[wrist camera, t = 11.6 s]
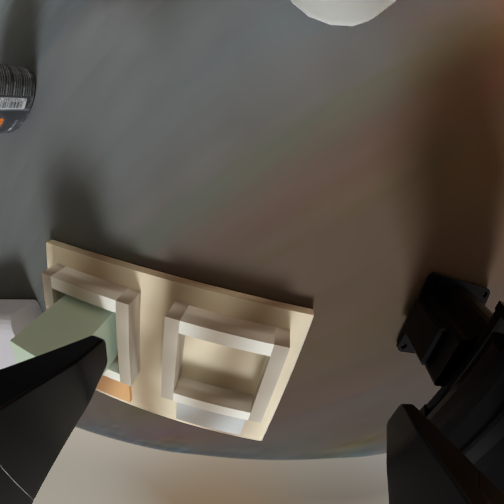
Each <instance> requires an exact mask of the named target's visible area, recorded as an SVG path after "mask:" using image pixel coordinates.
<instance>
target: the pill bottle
mask: <svg viewBox="0 0 504 504" xmlns="http://www.w3.org/2000/svg"><path fill="white" fill-rule="evenodd" d="M34 90H35V84H34V78H33V75H32V73H31V72H30V70H28V69H27V68H24V67H19V66H13V65H6V64H0V133H8V132H12V131H14V130H16V129H17V128H19V127H20V125H21V124H22V123H23V122H24V120H25V119H26V117H27V115H28V113H29V111H30V109H31V106H32V102H33V98H34Z"/></svg>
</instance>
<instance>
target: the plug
mask: <svg viewBox="0 0 504 504" xmlns="http://www.w3.org/2000/svg"><path fill="white" fill-rule="evenodd" d="M92 335H94V336H97V337H99V338H102V339H104V340H105V342H106V349H107V358H108V362H107V366H106V368H105V370H104V372H103V374H104V373H105V372H106V370H107V369H108V367H109V366H110V365H111V363H112V362H113V361H114V359H115V358H116V357H117V355H118V349H117V332H116V313H115V312H112V311H109V310H106V309H104V308H101V307H98V306H95V305H93V304H90V303H88V302H85V301H82V300H80V299H77V298H75V297H72V296H70V295H67V294H66V295H64V296H63V297H62V298H61V299H59V300H58V301H57V302H56V303H54V304H53V305H52V306H51V307H49V308H48V309H47V310H46V311H44V312H43V313H42V314H41V315H39V316H38V317H37V318H36V319H35V320H33V321H32V322H31V323H30V324H29V325H27V326H26V327H25V328H24V329H23V330H22V331H20V332H19V333H18V334H17V335H16V336H15V337H13V338H12V339H11V340H10V343H11V346H12V349H13V352H14V356H15V359H16V362H17V363H20V362H22V361H25V360H28V359H30V358H33V357H36V356H39V355H41V354H44V353H47V352H49V351H52V350H55V349H57V348H60V347H63V346H65V345H68V344H71V343H73V342H76V341H78V340H81V339H84V338H86V337H89V336H92ZM103 374H102V376H103Z"/></svg>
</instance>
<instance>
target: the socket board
mask: <svg viewBox="0 0 504 504" xmlns="http://www.w3.org/2000/svg"><path fill="white" fill-rule="evenodd" d="M46 248H47V264H48V269H47V270H45V271H44V272H42V280H43V288H44V296H45V303H46V310H47V309H48V308H49V307H51V306H52V305H53V304H54V303H56V302H57V301H58V300H59V299H61V298H62V297H63V296H64V295H66V294H67V295H70V296H72V297H75V298H77V299H80V300H82V301H85V302H88V303H90V304H93V305H95V306H98V307H101V308H104V309H106V310H109V311H112V312H115V313H116V332H117V349H118V355H117V357H116V358H115V359H114V361H113V362H112V363H111V365H110V366H109V367H108V369H107V370H106V372H105V373H104V374H103V376H102V377H101V379H100V381H99V383H98V385H97V387H96V389H95V390H97V391H99V392H102V393H104V394H106V395H108V396H111V397H113V398H116V399H118V400H121V401H123V402H126V403H128V404H131V405H133V406H136V407H139V408H141V409H144V410H147V411H150V412H152V413H155V414H158V415H161V416H164V417H167V418H170V419H174V420H177V421H180V422H183V423H187V424H190V425H194V426H197V427H201V428H205V429H209V430H213V431H217V432H221V433H225V434H229V435H234V436H239V437H243V438H248V439H254V440H259V441H262V439H263V437H264V434H265V432H266V430H267V428H268V426H269V424H270V421H271V419H272V417H273V415H274V413H275V410H276V408H277V406H278V404H279V401H280V399H281V397H282V394H283V392H284V390H285V387H286V385H287V383H288V380H289V378H290V375H291V373H292V371H293V368H294V366H295V363H296V361H297V358H298V356H299V353H300V351H301V348H302V346H303V343H304V340H305V338H306V335H307V333H308V330H309V327H310V325H311V322H312V319H313V316H314V313H313V309H309V308H304V307H300V306H295V305H291V304H287V303H282V302H278V301H274V300H269V299H265V298H261V297H257V296H252V295H248V294H244V293H240V292H236V291H232V290H228V289H224V288H220V287H216V286H212V285H208V284H204V283H200V282H197V281H193V280H189V279H185V278H181V277H178V276H174V275H170V274H167V273H163V272H159V271H156V270H152V269H149V268H145V267H142V266H138V265H135V264H131V263H128V262H124V261H121V260H117V259H114V258H111V257H107V256H104V255H100V254H97V253H94V252H91V251H87V250H84V249H81V248H78V247H74V246H71V245H68V244H65V243H62V242H59V241H56V240H53V239H52V240H50V241H48V242H46Z"/></svg>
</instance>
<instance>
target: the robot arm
mask: <svg viewBox="0 0 504 504" xmlns="http://www.w3.org/2000/svg"><path fill="white" fill-rule="evenodd" d="M434 278H436V280H435V281H434V282H432V280H433V279H434ZM484 293H485V294H484ZM483 294H484V295H483ZM489 294H490V291H489V289H488V288H486V287H484V286H481V285H478V284H474V283H471V282H468V281H464V280H461V279H457V278H454V277H450V276H447V275H443V274H440V273H436V272H433V273H431V274H430V275H429V276H428V278H427V280H426V282H425V285H424V287H423V289H422V292H421V294H420V296H419V299H418V300H417V301H416V303H415V305H414V308H413V310H412V312H411V314H410V316H409V318H408V320H407V322H406V324H405V326H404V330H403V332H402V334H401V336H400V338H399V340H398V342H397V348H398V350H399V351H401V352H409V353H416V354H417V356H418V358H419V360H420V362H421V364H422V365H425V367H426V369H427V371H428V373H429V375H430V377H431V379H432V381H433V383H434V385H436V386H441V389H440V390H439V391H438V392H437V393H436V394H435V396H434V397H433V398H432V399H431V400H430V401H429V402H428V404H425V405H424V406H423V407H422V408H421V409H420V411H419V410H418V409H417V408H416V407H415V406H414V405H412V404H401V405H400V406H399V407H398V408H397V410H396V411H395V412H394V414H393V415H392V416H391V418H390V419H389V421H388V423H387V477H388V492H389V504H504V303H503V302H501V301H499V302H498V304H497V305H496V307H495V312H494V313H492V312H491V311H490V310H489V309H488V308H487V307H486V306H485V303H486V301H487V299H488V297H489ZM402 344H405V345H403V346H402ZM107 362H108V358H107V349H106V342H105V340H104V339H102V338H99V337H97V336H94V335H92V336H89V337H86V338H84V339H81V340H78V341H76V342H73V343H71V344H68V345H65V346H63V347H60V348H57V349H55V350H52V351H49V352H47V353H44V354H41V355H39V356H36V357H33V358H30V359H28V360H25V361H22V362H20V363H17V364H14V365H11V366H9V367H6V368H3V369H0V504H32V503H33V500H34V498H35V497H36V495H37V493H38V491H39V489H40V487H41V485H42V483H43V482H44V480H45V478H46V476H47V474H48V472H49V471H50V469H51V467H52V465H53V463H54V462H55V460H56V458H57V456H58V455H59V453H60V451H61V449H62V448H63V446H64V444H65V443H66V441H67V439H68V437H69V436H70V434H71V432H72V431H73V429H74V427H75V426H76V424H77V422H78V421H79V419H80V417H81V416H82V414H83V413H84V411H85V409H86V408H87V406H88V404H89V402H90V400H91V398H92V396H93V394H94V391H95V389H96V387H97V385H98V383H99V381H100V379H101V377H102V374H103V372H104V370H105V368H106V366H107Z"/></svg>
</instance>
